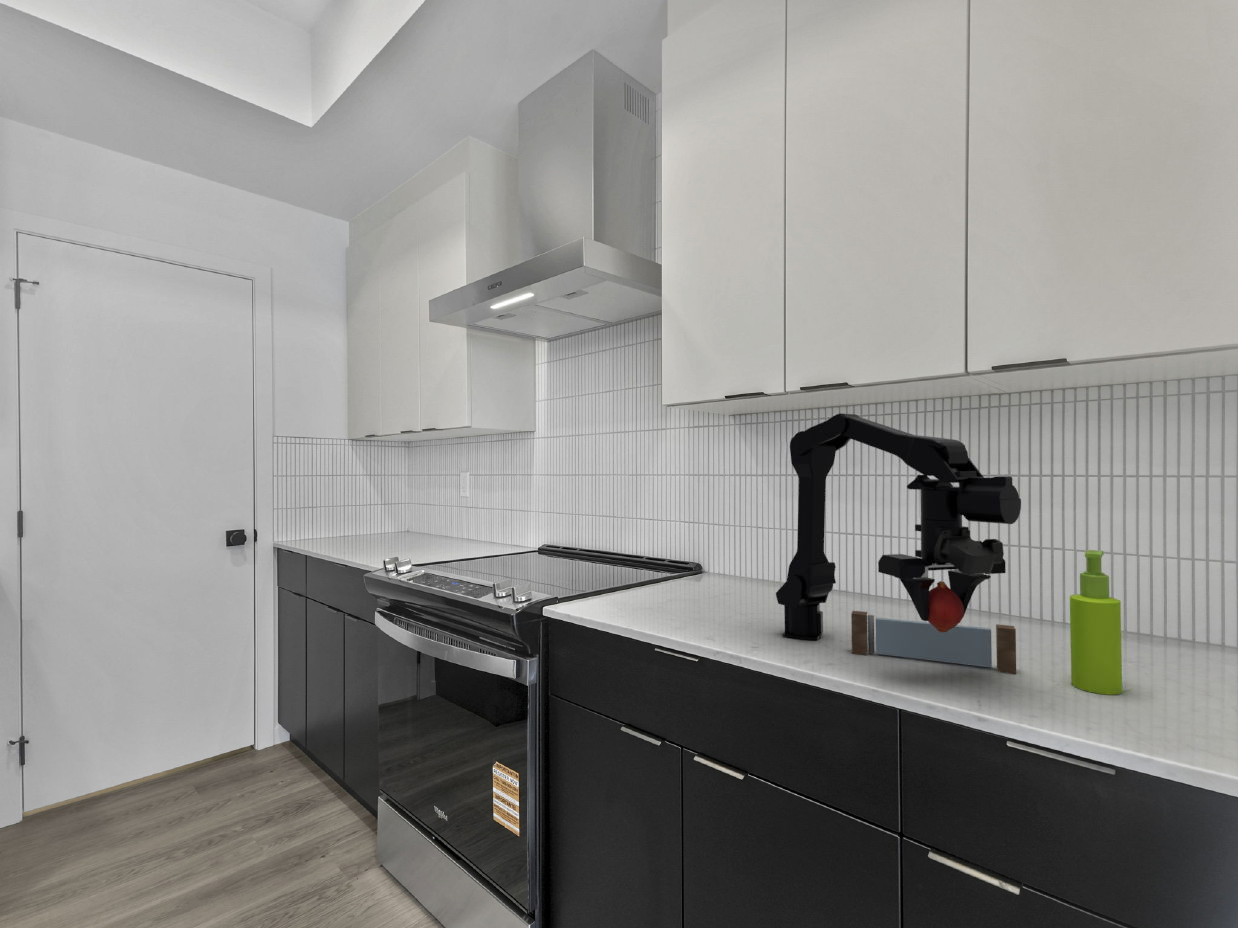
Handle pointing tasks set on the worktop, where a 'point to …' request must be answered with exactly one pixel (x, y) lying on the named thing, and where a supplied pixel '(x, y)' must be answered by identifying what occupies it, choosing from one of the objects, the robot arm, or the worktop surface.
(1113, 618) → the soap dispenser
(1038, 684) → the worktop surface
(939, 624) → the onion
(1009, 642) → the door frame
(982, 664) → the door
